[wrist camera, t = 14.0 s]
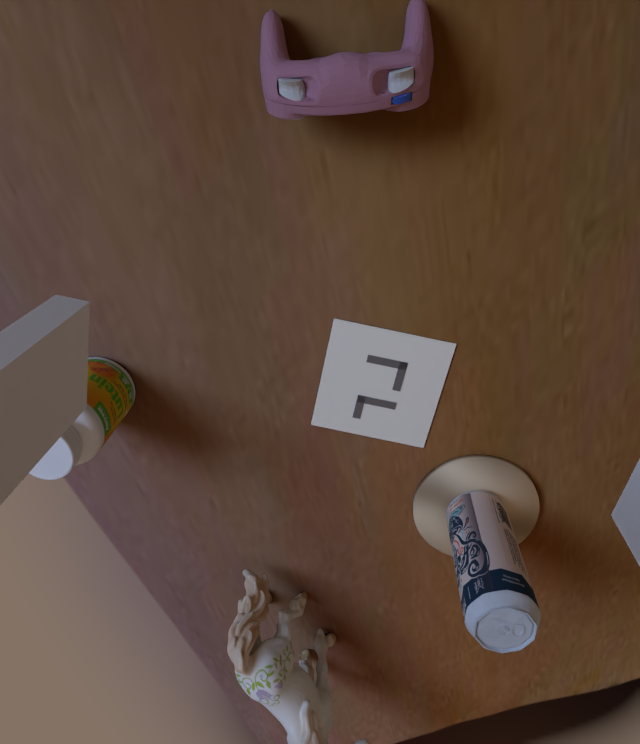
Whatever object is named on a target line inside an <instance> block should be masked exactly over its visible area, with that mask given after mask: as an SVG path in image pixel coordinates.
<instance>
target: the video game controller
mask: <svg viewBox="0 0 640 744" xmlns="http://www.w3.org/2000/svg"><path fill="white" fill-rule="evenodd" d="M433 63H434V48H433V40H432V32H431V24H430V17H429V11H428V7H427V4H426V2H425V0H411V1H410V2H409V5H408V8H407V12H406V22H405V33H404V40H403V44H402V48H401V50H399V51H392V52H385V53H383V52H371V53H366V54H362V53H355V52H340V53H336V54H333V55H330V56H327V57H317V58H312V59H310V60H290V58H289V55H288V51H287V46H286V40H285V34H284V29H283V25H282V22H281V19H280V16H279V15H278V13H277V12H276V11H274V10H269V11H267V13H266V14H265V16H264V18H263V21H262V27H261V50H260V70H261V77H262V87H263V93H264V97H265V102H266V107H267V111H268V112H269V113H270V114H271V115H273V116H275V117H278V118H282V119H292V120H300V119H302V118H304V117H307V116H309V115H318V116H330V115H348V114H357V113H366V112H372V111H377V110H387V111H393V112H402V111H408V110H412V109H415V108H418V107H419V106H421V105H423V104H424V103H425V102H426V101H427V100H428V98H429V91H430V82H431V76H432V71H433Z"/></svg>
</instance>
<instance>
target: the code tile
mask: <svg viewBox="0 0 640 744" xmlns="http://www.w3.org/2000/svg"><path fill="white" fill-rule="evenodd" d="M455 347H456V344H455V343H450V342H445V341H441V340H436V339H431V338H426V337H422V336H417V335H412V334H407V333H402V332H398V331H393V330H388V329H383V328H379V327H374V326H369V325H364V324H359V323H355V322H350V321H345V320H340V319H336V318H334V321H333V326H332V330H331V335H330V339H329V344H328V349H327V353H326V358H325V362H324V367H323V372H322V376H321V381H320V385H319V390H318V395H317V399H316V404H315V408H314V413H313V418H312V422H311V425H315V426H320V427H325V428H330V429H335V430H339V431H344V432H349V433H354V434H359V435H364V436H368V437H373V438H378V439H383V440H388V441H393V442H398V443H402V444H407V445H412V446H417V447H422V448H424V445H425V442H426V439H427V435H428V432H429V429H430V426H431V423H432V420H433V417H434V413H435V410H436V407H437V404H438V401H439V398H440V395H441V391H442V388H443V385H444V382H445V379H446V376H447V373H448V369H449V366H450V363H451V360H452V357H453V354H454V351H455Z"/></svg>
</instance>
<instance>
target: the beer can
mask: <svg viewBox="0 0 640 744" xmlns="http://www.w3.org/2000/svg"><path fill="white" fill-rule="evenodd" d="M446 520H447V526H448V531H449V537H450V542H451V548H452V554H453V559H454V565H455V570H456V576H457V582H458V587H459V593H460V599H461V604H462V610H463V615H464V621H465V625H466V627H467V630H468V631H469V632H470V633H471V635H472V636H473V637H474V638H475V639H476V640H477V641H478V642H479V643H480V644H481V645H482V647H483V648H485V649H488V650H492V651H495V652H499V653H507V652H513V651H519V650H522V649H523V648H524V647H526V646H527V645H528V644H530V643H531V642H532V641H534V639H535V635H536V632H537V628H538V626H539V624H540V610H539V607H538V604H537V601H536V598H535V595H534V592H533V589H532V586H531V582H530V579H529V576H528V573H527V570H526V567H525V564H524V561H523V558H522V555H521V552H520V549H519V545H518V542H517V539H516V536H515V533H514V530H513V527H512V524H511V521H510V518H509V515H508V512H507V509H506V506H505V504H504V502H503V501H502V500H501V499H500V498H499V497H498V496H496V495H495V494H493V493H490V492H487V491H481V490H476V491H469V492H466V493H463V494H461V495H459V496H457V497H456V498H455V499H454V500H453V501H452V502H451V503H450V505H449V506H448V508H447V512H446Z"/></svg>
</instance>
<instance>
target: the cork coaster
mask: <svg viewBox="0 0 640 744" xmlns="http://www.w3.org/2000/svg"><path fill="white" fill-rule="evenodd" d="M476 490H481V491H487V492H490V493H493V494H495V495H496V496H498V497H499V498H500V499H501V500H502V501H503V502H504V504H505V506H506V509H507V512H508V515H509V518H510V521H511V524H512V527H513V530H514V533H515V536H516V539H517V542H518V545H519V544H520V543H521V542H522V541H524V539H525V538H526V537H527V536H528V535H529V534H530V533H531V531H532V530H533V528H534V526H535V524H536V522H537V519H538V516H539V508H540V503H539V497H538V494H537V491H536V489H535V486H534V484H533V482H532V480H531V479H530V478H529V476H528V475H527V474H526V473H525V472H524V471H523V470H522V469H521V468H519V467H518V466H517V465H515V464H513V463H511V462H510V461H507V460H505V459H502V458H499V457H495V456H489V455H467V456H462V457H458V458H454V459H451V460H449V461H447V462H444V463H443V464H441V465H439V466H437V467H436V468H435V469H433V470H432V471H431V472H430V473H429V474H427V475H426V476H425V478H424V479H423V480H422V481H421V483H420V485H419V486H418V488H417V490H416V493H415V496H414V500H413V514H414V520H415V524H416V527H417V529H418V531H419V533H420V534H421V536H422V537H423V538H424V539H425V540H426V541H427V542H428V543H429V544H430V545H431V546H433V547H434V548H435V549H437V550H439V551H441V552H443V553H445V554H448V555H450V556H453V554H452V548H451V542H450V537H449V531H448V526H447V520H446V512H447V508H448V506H449V505H450V503H451V502H452V501H453V500H454V499H455V498H456V497H457V496H459V495H461V494H463V493H466V492H469V491H476Z"/></svg>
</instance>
